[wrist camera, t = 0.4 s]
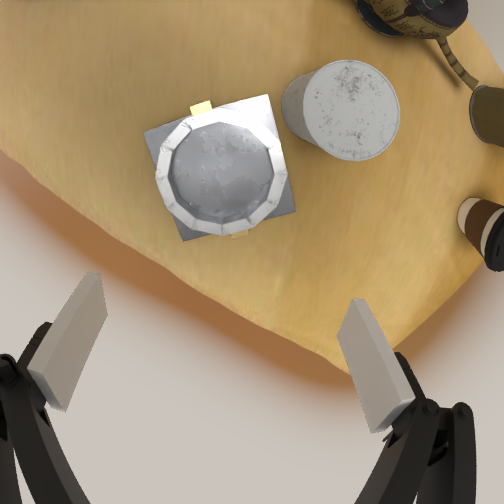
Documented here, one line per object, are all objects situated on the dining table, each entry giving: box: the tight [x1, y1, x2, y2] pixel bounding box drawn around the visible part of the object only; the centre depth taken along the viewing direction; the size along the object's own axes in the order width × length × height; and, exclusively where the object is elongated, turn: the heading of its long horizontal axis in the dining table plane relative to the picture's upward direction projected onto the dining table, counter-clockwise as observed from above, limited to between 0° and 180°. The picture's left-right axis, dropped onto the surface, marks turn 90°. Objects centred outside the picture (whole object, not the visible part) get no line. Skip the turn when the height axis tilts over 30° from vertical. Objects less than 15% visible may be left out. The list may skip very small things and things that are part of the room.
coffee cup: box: [457, 198, 504, 272], centre depth 35 cm, size 11×11×12 cm
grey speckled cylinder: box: [281, 59, 400, 161], centre depth 27 cm, size 10×10×12 cm
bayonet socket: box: [143, 94, 296, 242], centre depth 35 cm, size 18×16×3 cm
